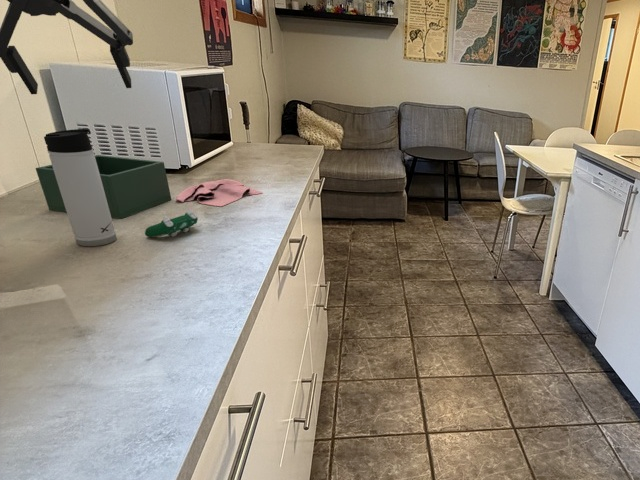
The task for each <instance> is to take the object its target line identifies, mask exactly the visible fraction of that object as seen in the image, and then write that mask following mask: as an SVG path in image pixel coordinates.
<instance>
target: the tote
mask: <svg viewBox="0 0 640 480" xmlns="http://www.w3.org/2000/svg"><path fill="white" fill-rule="evenodd" d="M94 155H95V154H94ZM95 159H96V163H97V166H98V170H99V174H100V177H101V181H102V185H103V189H104V192H105V196H106V200H107V203H108V207H109V211H110V214H111V218H112V219H118V220H122V219H124V218H127V217H130V216H132V215H136V214H138V213H141V212H143V211H146V210H148V209H151V208H153V207H156V206H159V205H161V204H164V203H167V202H170V201H172V196H171V191H170V186H169V182H168V176H167V172H166V166H165V162H164V161H157V160H149V159H139V158H131V157H130V158H129V157H121V156H120V157H119V156H113V155H112V156H111V155H103V154H102V155H101V154H96V155H95ZM35 171H36V174H37V177H38V181H39V183H40V187H41V190H42V193H43V195H44V196H43V197H44V199H45V201H46V204H47V208H48V210H49V211H51V212H52V211H54V212H60V213H61V212H62V213H67V211H66V208H65V205H64V202H63V199H62V195H61V192H60V189H59V186H58V183H57V179H56V176H55V173H54V170H53V167H52V164H48V165H44V166H39V167H35Z"/></svg>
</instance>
